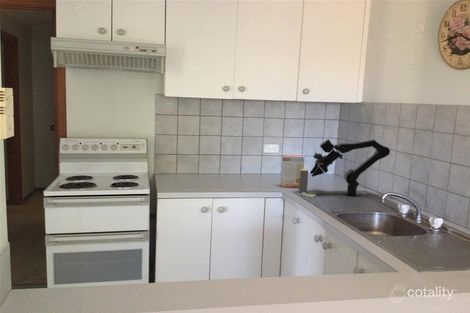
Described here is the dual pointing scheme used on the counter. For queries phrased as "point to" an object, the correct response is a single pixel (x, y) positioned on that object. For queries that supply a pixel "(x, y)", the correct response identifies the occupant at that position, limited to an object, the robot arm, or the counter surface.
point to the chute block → (303, 180)
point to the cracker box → (291, 170)
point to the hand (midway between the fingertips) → (311, 174)
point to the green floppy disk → (307, 194)
